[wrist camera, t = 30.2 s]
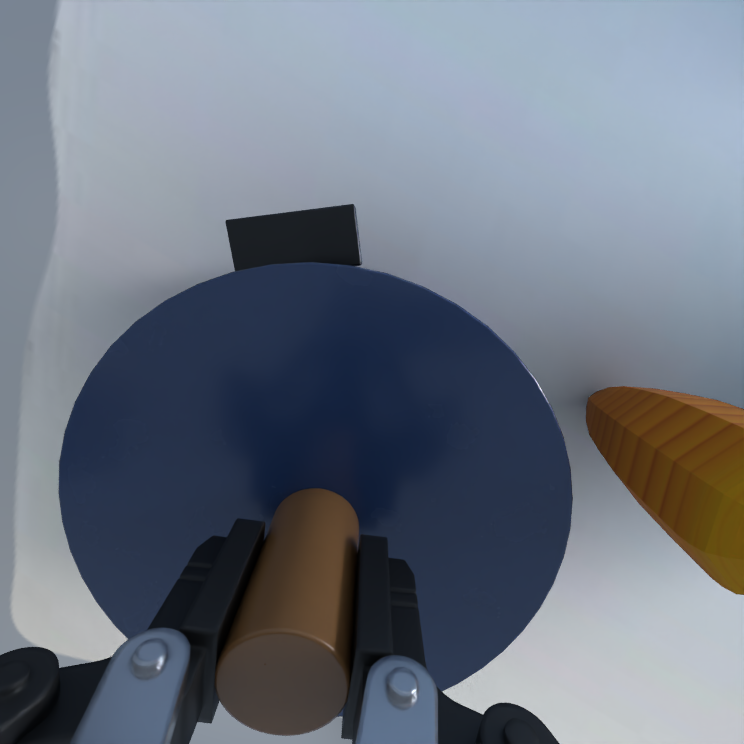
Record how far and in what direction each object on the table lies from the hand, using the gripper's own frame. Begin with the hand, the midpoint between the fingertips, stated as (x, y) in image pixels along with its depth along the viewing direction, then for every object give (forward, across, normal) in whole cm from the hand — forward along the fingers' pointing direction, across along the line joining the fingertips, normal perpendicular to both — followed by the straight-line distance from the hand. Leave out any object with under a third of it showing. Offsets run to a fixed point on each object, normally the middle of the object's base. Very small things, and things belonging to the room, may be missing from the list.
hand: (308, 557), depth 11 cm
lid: (+2, 0, 0) cm, 2 cm away
